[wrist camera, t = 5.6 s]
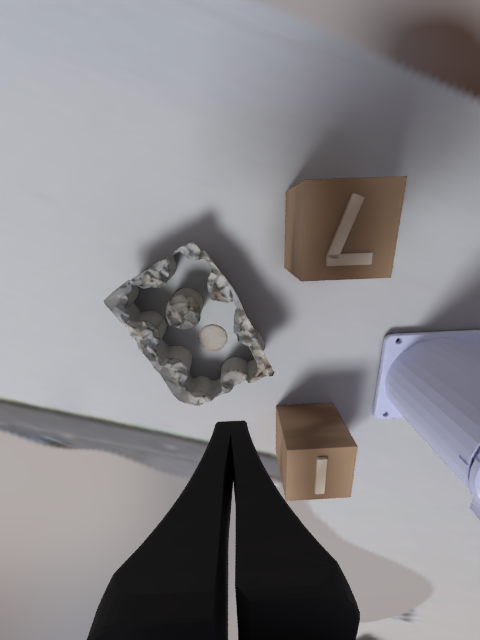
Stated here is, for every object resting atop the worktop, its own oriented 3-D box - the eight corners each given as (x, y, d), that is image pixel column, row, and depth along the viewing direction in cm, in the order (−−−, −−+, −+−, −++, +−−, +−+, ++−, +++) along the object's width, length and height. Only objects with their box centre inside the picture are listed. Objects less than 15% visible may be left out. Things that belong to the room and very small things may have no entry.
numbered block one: (332, 402, 24) (358, 448, 19) (328, 446, 25) (351, 499, 20) (276, 405, 23) (287, 452, 19) (275, 449, 25) (286, 503, 20)
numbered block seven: (360, 188, 18) (409, 175, 13) (352, 264, 19) (392, 278, 15) (285, 191, 18) (306, 178, 13) (284, 267, 19) (302, 281, 14)
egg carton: (273, 352, 22) (282, 380, 18) (194, 390, 23) (187, 424, 19) (206, 232, 19) (200, 235, 15) (118, 283, 20) (90, 298, 16)
